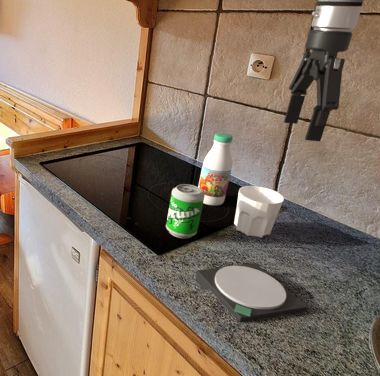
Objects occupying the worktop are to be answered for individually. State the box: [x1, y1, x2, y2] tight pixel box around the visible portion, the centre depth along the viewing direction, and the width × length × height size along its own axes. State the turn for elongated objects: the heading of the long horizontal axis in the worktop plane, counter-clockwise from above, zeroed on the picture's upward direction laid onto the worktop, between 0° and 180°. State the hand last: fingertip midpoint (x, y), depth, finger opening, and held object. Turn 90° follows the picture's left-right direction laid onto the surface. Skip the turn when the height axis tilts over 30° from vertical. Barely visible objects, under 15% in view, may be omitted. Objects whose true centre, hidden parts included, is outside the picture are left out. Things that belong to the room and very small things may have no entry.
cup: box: [233, 185, 285, 239], centre depth 102 cm, size 10×10×10 cm
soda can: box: [165, 183, 205, 239], centre depth 99 cm, size 8×8×12 cm
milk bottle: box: [197, 132, 233, 206], centre depth 115 cm, size 8×8×20 cm
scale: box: [195, 262, 308, 323], centre depth 79 cm, size 14×14×3 cm
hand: (300, 131), depth 91 cm, fingers open, 13 cm apart
